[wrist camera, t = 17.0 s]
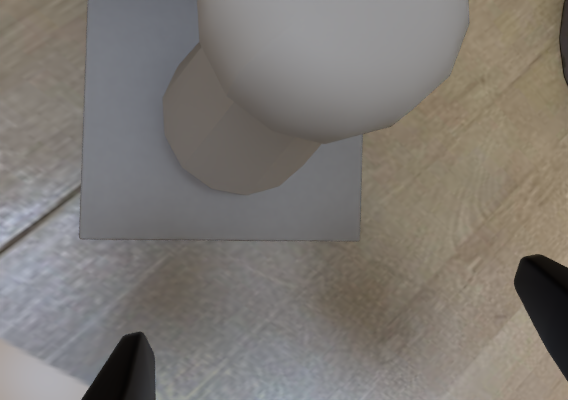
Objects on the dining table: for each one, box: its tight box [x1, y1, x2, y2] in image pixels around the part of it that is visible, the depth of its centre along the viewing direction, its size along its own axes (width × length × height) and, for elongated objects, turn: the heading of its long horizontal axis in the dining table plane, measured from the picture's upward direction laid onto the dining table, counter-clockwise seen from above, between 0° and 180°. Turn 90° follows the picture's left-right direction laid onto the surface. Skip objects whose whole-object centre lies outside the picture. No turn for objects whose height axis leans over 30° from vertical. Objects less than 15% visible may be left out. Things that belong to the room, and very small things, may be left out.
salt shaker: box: [162, 0, 469, 195], centre depth 12 cm, size 6×6×13 cm
